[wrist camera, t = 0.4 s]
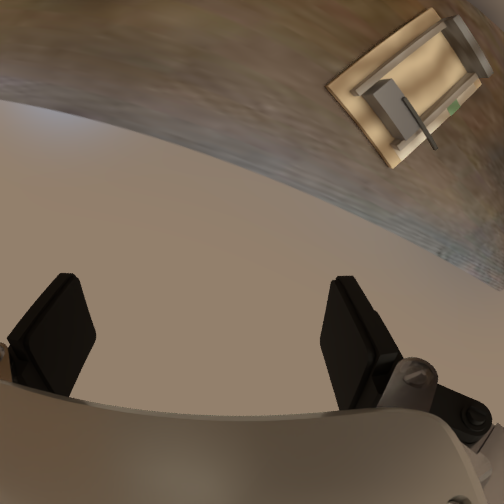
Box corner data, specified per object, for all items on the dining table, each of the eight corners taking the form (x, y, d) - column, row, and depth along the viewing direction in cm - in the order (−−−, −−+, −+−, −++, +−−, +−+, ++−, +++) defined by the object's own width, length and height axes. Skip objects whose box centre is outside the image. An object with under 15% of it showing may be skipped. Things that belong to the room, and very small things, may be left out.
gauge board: (324, 86, 37) (338, 83, 31) (427, 9, 30) (449, 1, 24) (388, 167, 43) (409, 177, 37) (476, 84, 35) (500, 86, 29)
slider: (361, 95, 36) (374, 94, 32) (379, 79, 35) (394, 78, 31) (406, 157, 40) (422, 163, 36) (422, 142, 39) (439, 147, 35)
